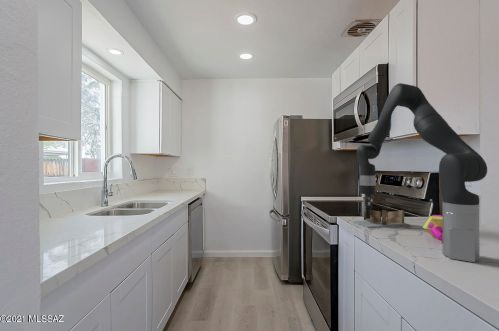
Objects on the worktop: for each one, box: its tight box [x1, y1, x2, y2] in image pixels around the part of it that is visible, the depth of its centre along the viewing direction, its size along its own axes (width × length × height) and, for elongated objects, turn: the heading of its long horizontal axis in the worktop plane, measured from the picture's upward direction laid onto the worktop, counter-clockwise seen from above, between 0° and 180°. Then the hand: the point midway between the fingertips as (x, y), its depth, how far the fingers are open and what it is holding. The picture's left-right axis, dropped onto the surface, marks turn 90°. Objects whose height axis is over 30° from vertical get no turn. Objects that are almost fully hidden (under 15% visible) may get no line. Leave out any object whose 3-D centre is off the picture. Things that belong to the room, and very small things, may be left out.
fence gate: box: [363, 209, 382, 223], centre depth 133 cm, size 9×2×6 cm, turn 34°
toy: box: [422, 214, 443, 243], centre depth 104 cm, size 10×18×10 cm, turn 154°
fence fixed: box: [381, 209, 405, 225], centre depth 129 cm, size 12×2×8 cm, turn 101°
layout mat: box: [352, 219, 411, 229], centre depth 131 cm, size 23×12×1 cm, turn 101°
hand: (367, 218), depth 132 cm, fingers closed
